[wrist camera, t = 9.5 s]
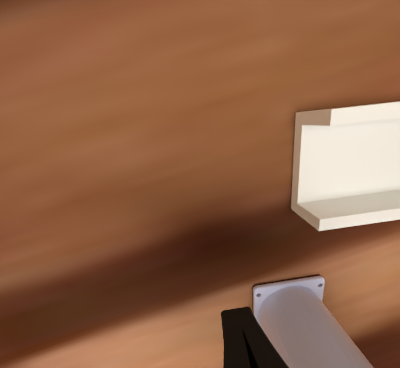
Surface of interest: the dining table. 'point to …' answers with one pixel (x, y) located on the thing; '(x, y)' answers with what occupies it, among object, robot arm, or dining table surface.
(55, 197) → the dining table surface
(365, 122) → the chute
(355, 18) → the dining table surface
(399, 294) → the dining table surface
